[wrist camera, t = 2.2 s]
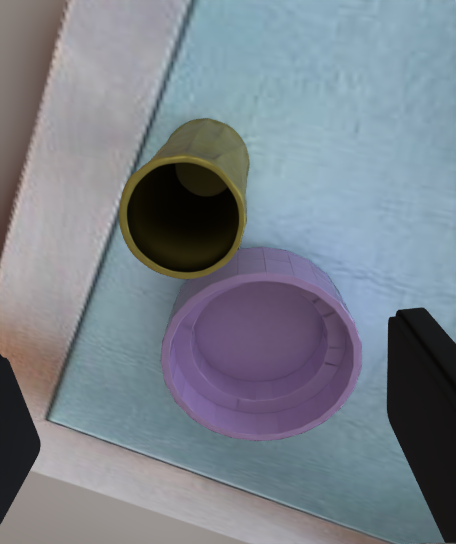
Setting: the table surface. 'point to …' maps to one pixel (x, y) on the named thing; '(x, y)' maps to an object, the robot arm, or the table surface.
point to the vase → (188, 201)
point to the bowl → (261, 347)
